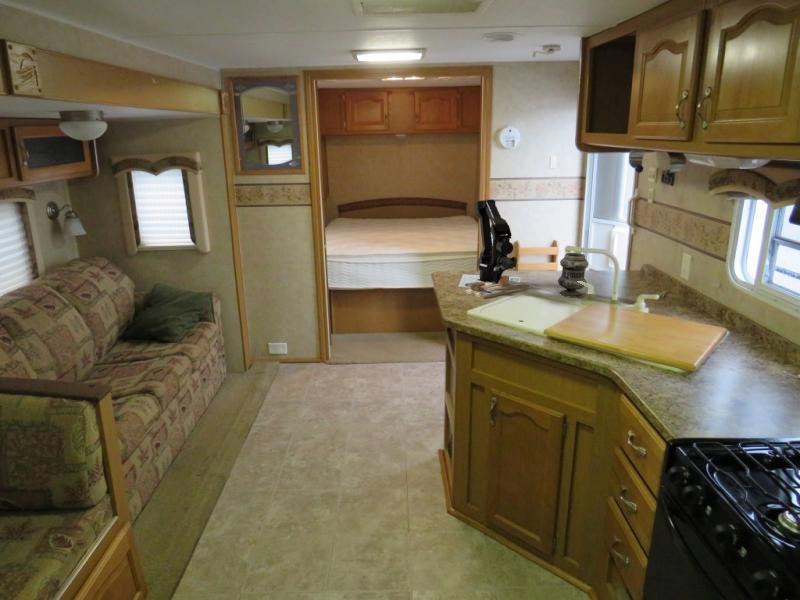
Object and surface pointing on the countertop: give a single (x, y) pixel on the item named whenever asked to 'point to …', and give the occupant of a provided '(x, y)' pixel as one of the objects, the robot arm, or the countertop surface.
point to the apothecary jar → (572, 274)
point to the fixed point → (478, 286)
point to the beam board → (497, 289)
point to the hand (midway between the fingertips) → (496, 283)
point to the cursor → (505, 280)
